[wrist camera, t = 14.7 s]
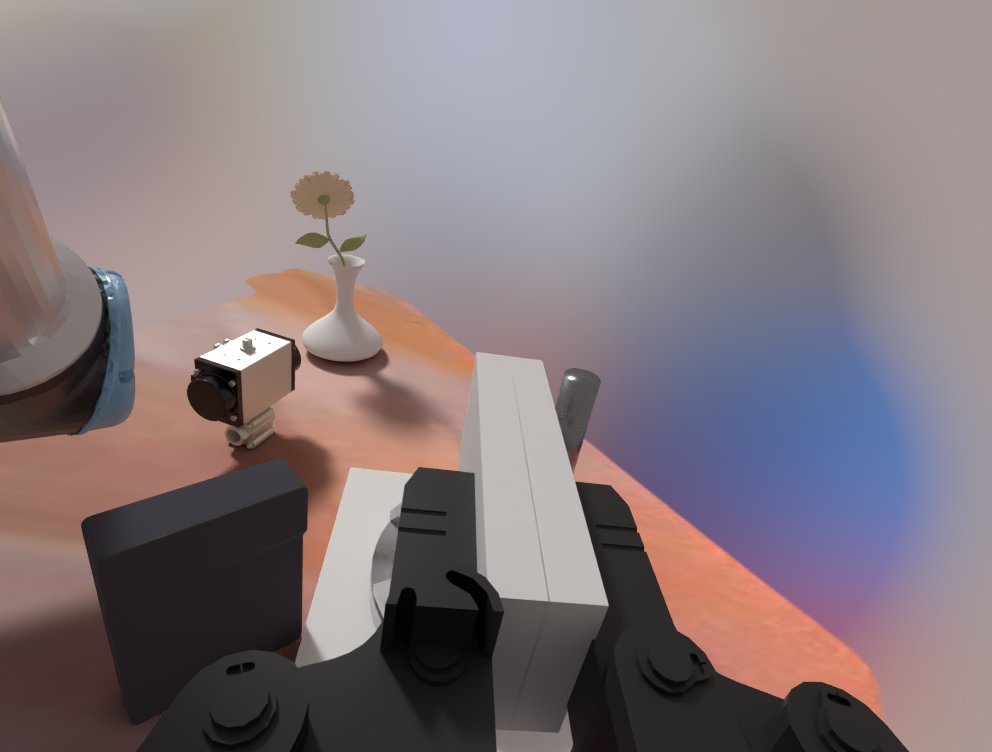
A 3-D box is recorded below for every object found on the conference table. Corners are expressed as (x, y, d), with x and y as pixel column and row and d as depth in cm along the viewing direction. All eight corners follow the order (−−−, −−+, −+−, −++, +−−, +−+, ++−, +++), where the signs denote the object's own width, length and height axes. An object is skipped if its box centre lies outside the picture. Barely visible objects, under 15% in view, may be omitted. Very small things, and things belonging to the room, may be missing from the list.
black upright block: (281, 602, 44) (278, 448, 37) (306, 642, 41) (309, 485, 34) (117, 681, 36) (75, 509, 29) (135, 736, 34) (94, 562, 27)
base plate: (263, 793, 32) (262, 773, 31) (349, 482, 57) (350, 465, 56) (710, 806, 36) (722, 788, 35) (610, 508, 60) (615, 493, 59)
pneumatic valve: (302, 418, 65) (303, 326, 60) (231, 474, 55) (224, 368, 49) (261, 404, 66) (259, 312, 61) (185, 456, 56) (173, 351, 51)
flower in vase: (384, 338, 87) (399, 174, 76) (378, 373, 78) (393, 190, 66) (299, 328, 85) (300, 158, 74) (280, 363, 75) (278, 172, 64)
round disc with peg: (656, 701, 39) (745, 529, 32) (366, 727, 34) (388, 532, 27) (571, 504, 56) (615, 362, 49) (370, 503, 52) (384, 345, 44)
